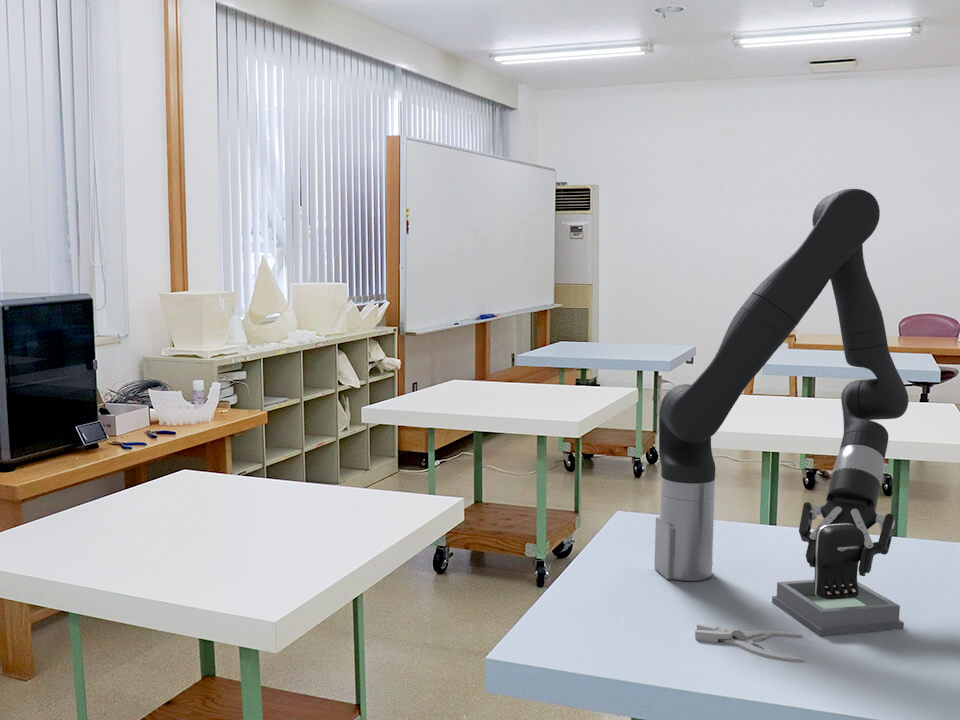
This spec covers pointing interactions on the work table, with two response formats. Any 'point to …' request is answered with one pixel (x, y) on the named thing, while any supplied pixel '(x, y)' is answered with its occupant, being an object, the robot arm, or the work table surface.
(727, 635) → the pliers
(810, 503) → the robot arm
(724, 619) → the work table surface
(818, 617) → the tray
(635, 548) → the work table surface
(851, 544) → the battery charger
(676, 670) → the work table surface
